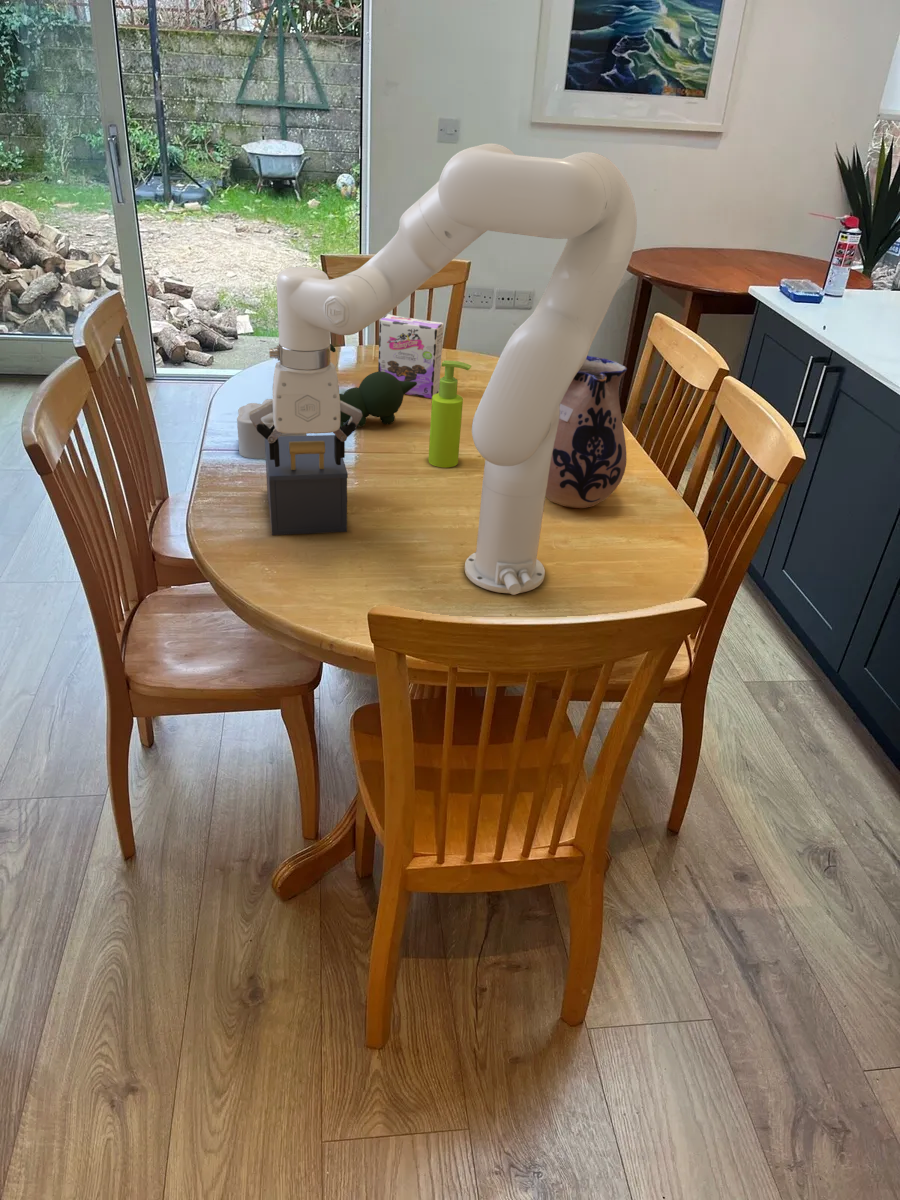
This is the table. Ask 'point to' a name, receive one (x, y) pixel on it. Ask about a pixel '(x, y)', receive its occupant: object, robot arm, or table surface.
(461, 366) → the soap dispenser
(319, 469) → the lid
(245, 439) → the lumpy-topped squat cylinder
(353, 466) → the table surface
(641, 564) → the table surface
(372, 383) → the toy figurine
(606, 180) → the robot arm
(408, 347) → the candy box
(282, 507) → the chest
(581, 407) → the ceramic pitcher
